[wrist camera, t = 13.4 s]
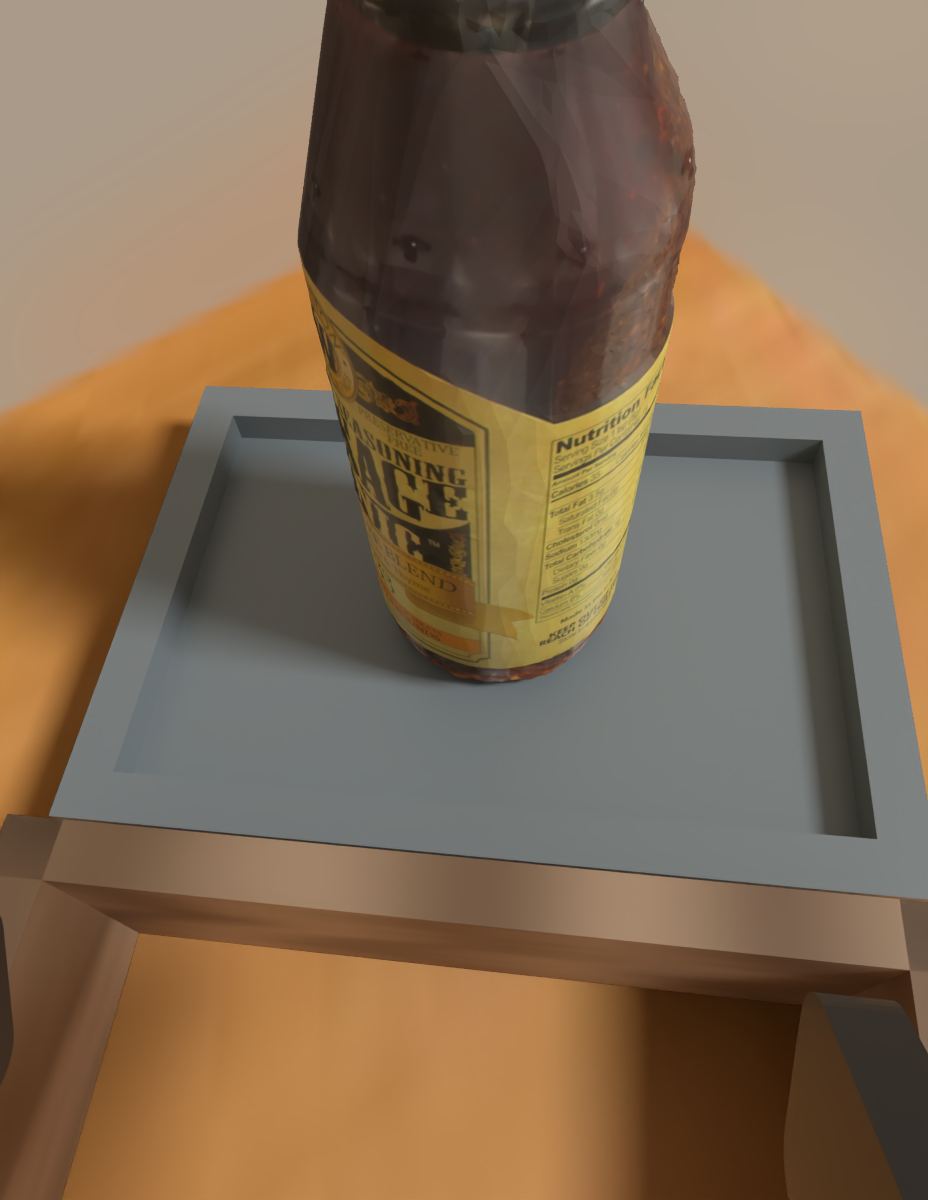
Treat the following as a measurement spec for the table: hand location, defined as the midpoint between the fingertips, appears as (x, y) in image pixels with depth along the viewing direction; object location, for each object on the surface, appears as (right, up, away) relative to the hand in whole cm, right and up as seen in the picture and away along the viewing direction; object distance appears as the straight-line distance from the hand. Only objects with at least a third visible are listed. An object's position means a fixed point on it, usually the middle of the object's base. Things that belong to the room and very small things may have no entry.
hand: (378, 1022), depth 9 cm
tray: (+2, +3, +16) cm, 17 cm away
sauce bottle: (+2, +4, +16) cm, 16 cm away
